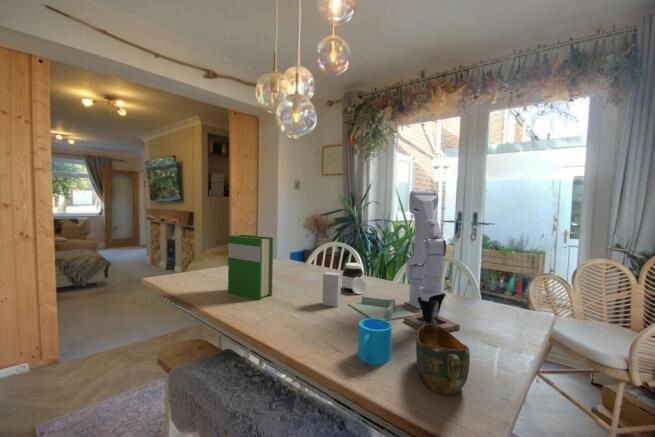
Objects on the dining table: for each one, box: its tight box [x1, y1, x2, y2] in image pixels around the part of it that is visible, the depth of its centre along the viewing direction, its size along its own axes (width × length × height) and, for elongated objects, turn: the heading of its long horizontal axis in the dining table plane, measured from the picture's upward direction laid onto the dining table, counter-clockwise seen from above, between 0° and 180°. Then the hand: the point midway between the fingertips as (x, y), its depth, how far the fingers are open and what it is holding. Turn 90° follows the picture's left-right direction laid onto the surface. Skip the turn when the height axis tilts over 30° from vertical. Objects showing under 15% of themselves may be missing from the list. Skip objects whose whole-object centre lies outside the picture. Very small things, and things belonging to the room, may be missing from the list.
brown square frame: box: [403, 313, 461, 333], centre depth 98 cm, size 12×12×2 cm
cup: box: [415, 324, 471, 396], centre depth 67 cm, size 13×20×10 cm, turn 146°
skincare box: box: [322, 271, 342, 308], centre depth 116 cm, size 6×4×12 cm
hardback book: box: [227, 234, 274, 301], centre depth 126 cm, size 18×7×24 cm, turn 60°
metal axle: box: [423, 299, 439, 325], centre depth 98 cm, size 4×4×8 cm
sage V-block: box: [348, 295, 416, 322], centre depth 111 cm, size 16×19×3 cm
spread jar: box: [341, 262, 367, 295], centre depth 135 cm, size 12×11×12 cm
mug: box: [357, 318, 393, 366], centre depth 75 cm, size 12×8×8 cm
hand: (431, 317), depth 98 cm, fingers open, 7 cm apart
